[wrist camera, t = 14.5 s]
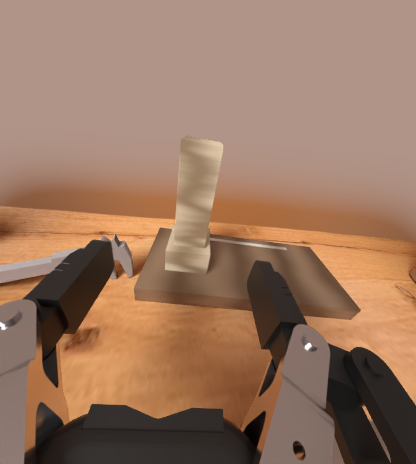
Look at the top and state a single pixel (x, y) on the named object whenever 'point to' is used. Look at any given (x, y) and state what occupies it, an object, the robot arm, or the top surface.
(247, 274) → the board
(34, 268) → the caliper
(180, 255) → the beige tall block
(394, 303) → the top surface
